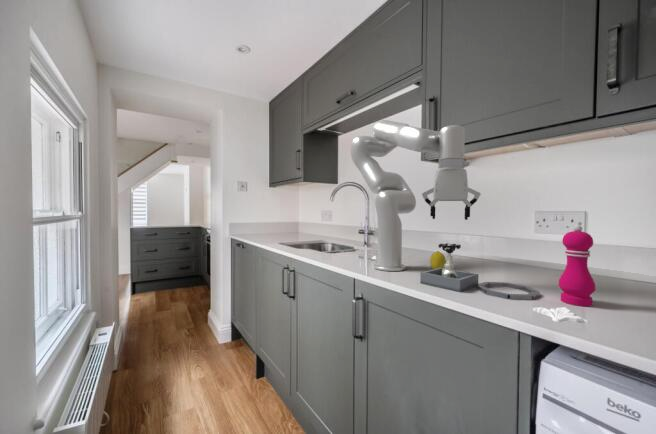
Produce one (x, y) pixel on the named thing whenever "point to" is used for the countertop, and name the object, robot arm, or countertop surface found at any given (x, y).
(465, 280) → the bin
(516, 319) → the countertop surface
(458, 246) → the valve
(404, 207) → the robot arm
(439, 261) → the lemon
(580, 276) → the pepper mill
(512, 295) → the segmented octagonal ring
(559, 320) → the acanthus leaf ornament
